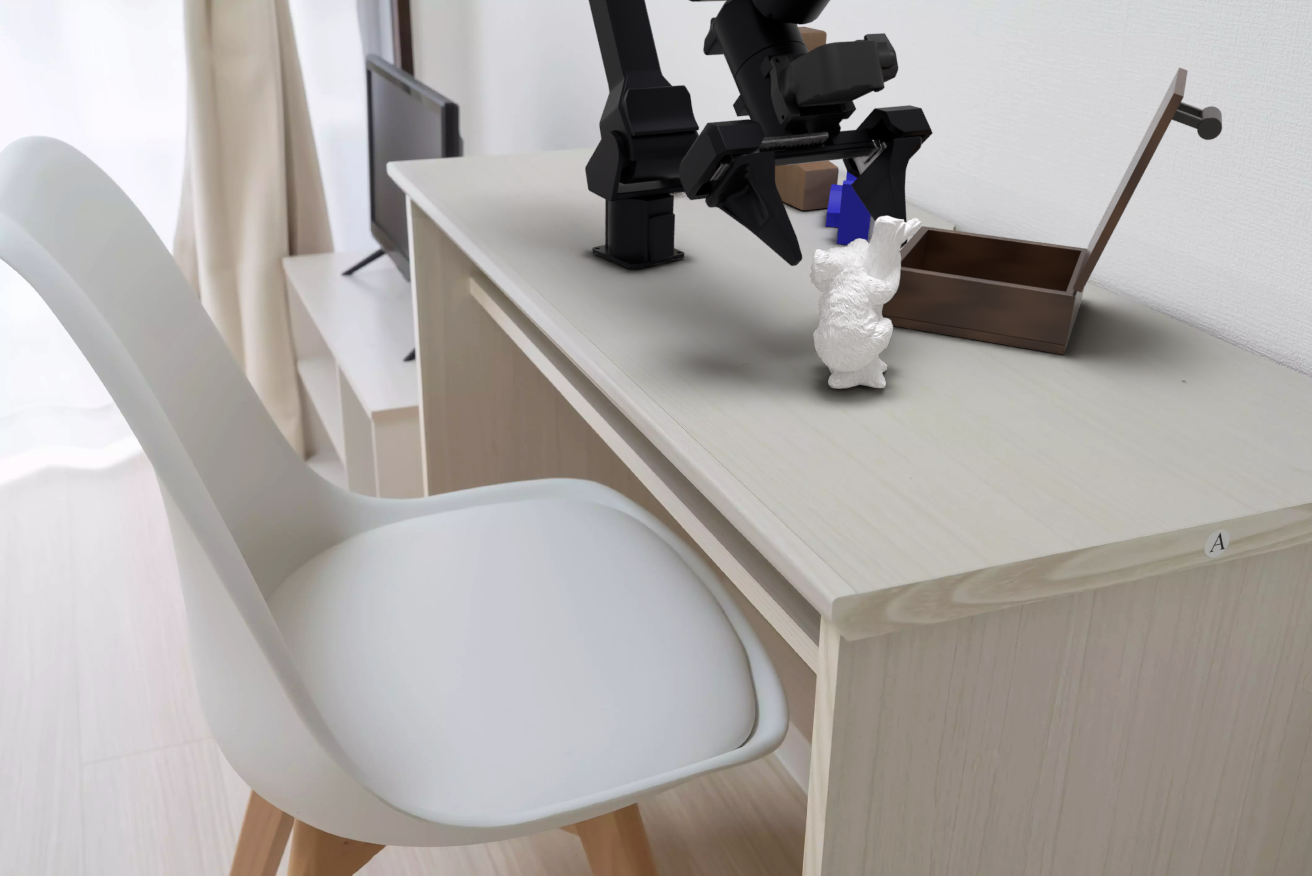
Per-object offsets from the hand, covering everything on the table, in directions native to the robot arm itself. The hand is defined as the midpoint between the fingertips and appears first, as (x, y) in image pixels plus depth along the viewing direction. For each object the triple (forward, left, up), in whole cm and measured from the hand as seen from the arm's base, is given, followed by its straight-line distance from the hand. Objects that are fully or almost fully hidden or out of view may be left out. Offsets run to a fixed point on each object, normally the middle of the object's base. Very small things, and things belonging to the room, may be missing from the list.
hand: (851, 254), depth 78 cm
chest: (-1, +20, -9) cm, 22 cm away
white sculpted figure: (+2, 0, -9) cm, 9 cm away
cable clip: (-25, +30, -9) cm, 40 cm away
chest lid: (+7, +24, +4) cm, 25 cm away
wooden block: (-36, +34, -9) cm, 50 cm away
